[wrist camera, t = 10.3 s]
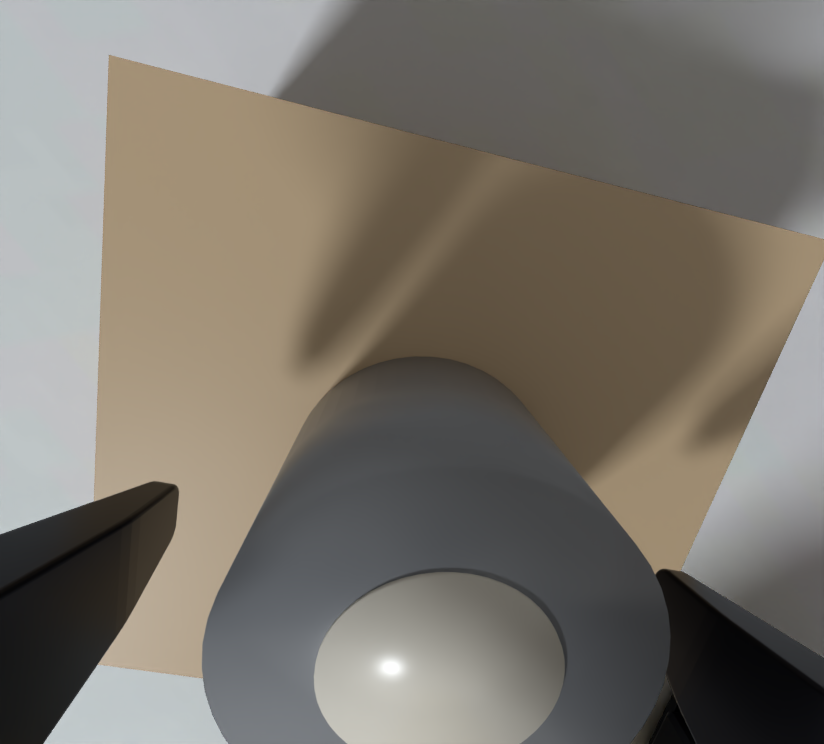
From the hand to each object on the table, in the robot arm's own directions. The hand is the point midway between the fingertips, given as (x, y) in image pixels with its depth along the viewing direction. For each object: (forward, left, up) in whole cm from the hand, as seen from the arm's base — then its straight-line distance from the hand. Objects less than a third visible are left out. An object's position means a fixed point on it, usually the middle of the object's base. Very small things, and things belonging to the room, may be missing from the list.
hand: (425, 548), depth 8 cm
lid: (0, 0, -3) cm, 3 cm away
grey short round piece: (0, 0, -2) cm, 2 cm away
